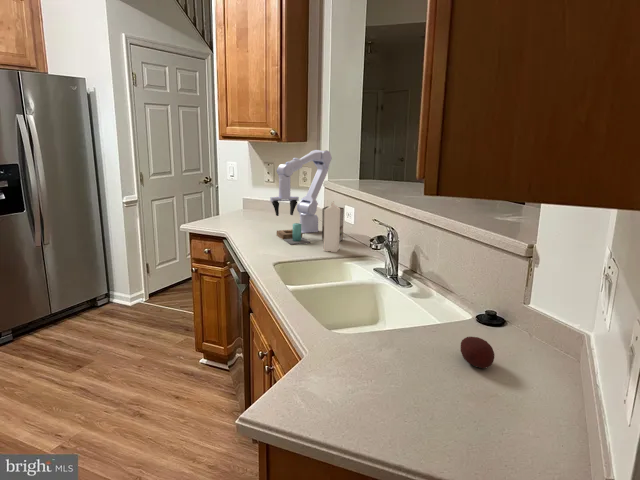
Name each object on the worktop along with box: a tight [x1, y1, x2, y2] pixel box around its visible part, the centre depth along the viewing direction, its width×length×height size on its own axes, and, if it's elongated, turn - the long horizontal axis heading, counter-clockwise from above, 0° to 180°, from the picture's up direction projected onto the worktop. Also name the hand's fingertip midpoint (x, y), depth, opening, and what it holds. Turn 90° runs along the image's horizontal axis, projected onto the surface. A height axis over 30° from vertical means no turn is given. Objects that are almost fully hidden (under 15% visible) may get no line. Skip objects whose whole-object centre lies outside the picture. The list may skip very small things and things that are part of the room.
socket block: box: [276, 229, 303, 241], centre depth 233 cm, size 10×10×2 cm
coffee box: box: [321, 206, 345, 242], centre depth 227 cm, size 9×6×16 cm
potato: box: [459, 336, 495, 369], centre depth 109 cm, size 7×10×6 cm
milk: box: [323, 201, 340, 253], centre depth 207 cm, size 6×6×22 cm
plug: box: [292, 222, 301, 241], centre depth 223 cm, size 4×4×8 cm
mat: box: [283, 237, 311, 246], centre depth 224 cm, size 10×10×1 cm
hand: (284, 215), depth 234 cm, fingers open, 7 cm apart
